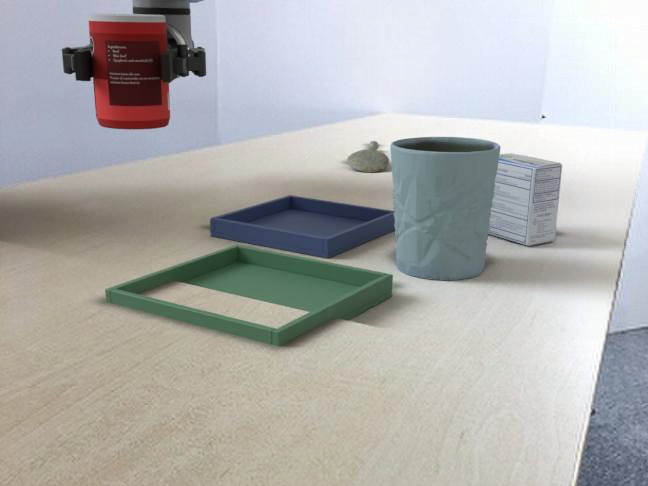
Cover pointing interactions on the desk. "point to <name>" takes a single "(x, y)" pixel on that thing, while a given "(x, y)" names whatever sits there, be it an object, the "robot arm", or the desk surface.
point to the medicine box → (525, 199)
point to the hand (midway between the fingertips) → (122, 67)
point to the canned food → (129, 70)
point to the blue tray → (304, 225)
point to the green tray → (262, 290)
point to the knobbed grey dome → (368, 159)
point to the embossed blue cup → (443, 204)
